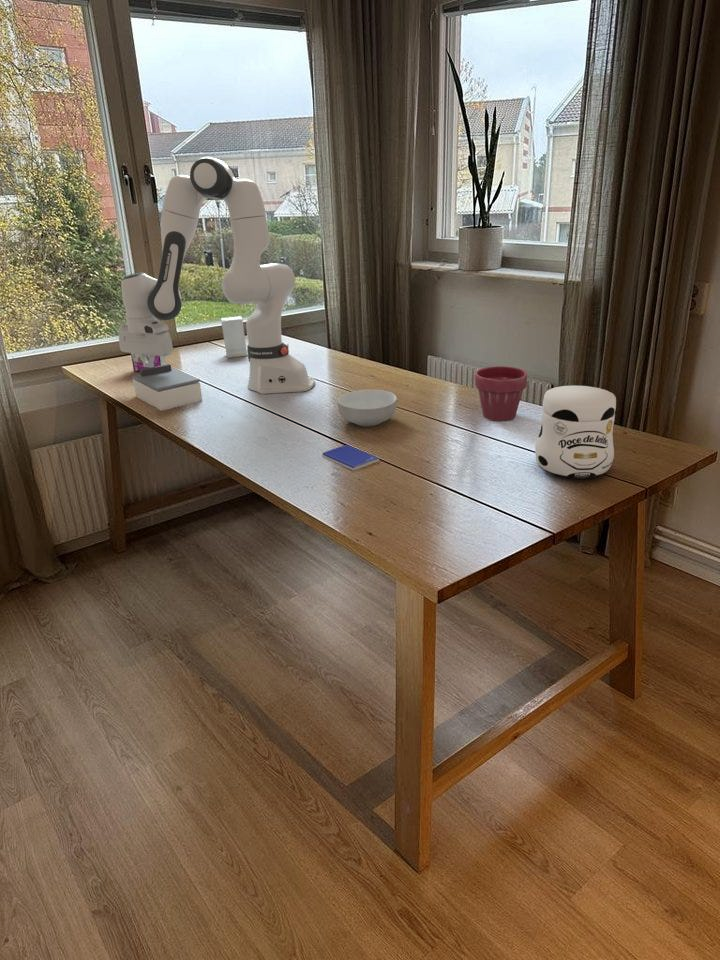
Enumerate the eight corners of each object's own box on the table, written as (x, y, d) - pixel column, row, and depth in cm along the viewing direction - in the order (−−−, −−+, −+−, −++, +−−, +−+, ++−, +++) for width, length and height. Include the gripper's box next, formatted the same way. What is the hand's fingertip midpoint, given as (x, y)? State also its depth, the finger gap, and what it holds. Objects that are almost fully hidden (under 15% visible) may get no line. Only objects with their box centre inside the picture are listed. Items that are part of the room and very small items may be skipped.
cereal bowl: (330, 417, 196) (329, 393, 193) (383, 408, 201) (383, 386, 198) (350, 436, 181) (349, 411, 178) (406, 426, 187) (406, 402, 184)
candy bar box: (133, 372, 249) (125, 328, 242) (138, 368, 254) (130, 325, 247) (162, 372, 248) (155, 327, 241) (167, 368, 252) (160, 324, 246)
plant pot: (463, 416, 193) (464, 372, 187) (495, 404, 201) (497, 362, 195) (502, 428, 182) (505, 382, 177) (534, 416, 191) (538, 372, 185)
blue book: (379, 457, 165) (347, 444, 174) (353, 466, 160) (322, 452, 169) (379, 463, 165) (347, 449, 174) (353, 472, 161) (322, 458, 169)
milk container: (579, 492, 146) (588, 413, 138) (518, 467, 159) (523, 394, 151) (627, 471, 155) (638, 396, 147) (565, 449, 168) (572, 379, 160)
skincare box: (246, 352, 270) (242, 315, 264) (247, 356, 265) (243, 318, 258) (225, 354, 268) (220, 317, 262) (225, 358, 263) (221, 320, 257)
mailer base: (135, 396, 221) (132, 378, 219) (175, 387, 229) (172, 370, 226) (161, 410, 207) (157, 392, 204) (202, 400, 214) (199, 382, 212)
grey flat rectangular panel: (132, 378, 218) (130, 369, 217) (172, 369, 226) (171, 361, 225) (157, 391, 204) (156, 382, 203) (199, 381, 212) (198, 372, 211)
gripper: (110, 325, 220) (118, 366, 225) (158, 329, 211) (165, 372, 217) (125, 321, 225) (132, 361, 231) (172, 325, 216) (178, 367, 222)
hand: (148, 366), depth 224 cm, fingers closed
